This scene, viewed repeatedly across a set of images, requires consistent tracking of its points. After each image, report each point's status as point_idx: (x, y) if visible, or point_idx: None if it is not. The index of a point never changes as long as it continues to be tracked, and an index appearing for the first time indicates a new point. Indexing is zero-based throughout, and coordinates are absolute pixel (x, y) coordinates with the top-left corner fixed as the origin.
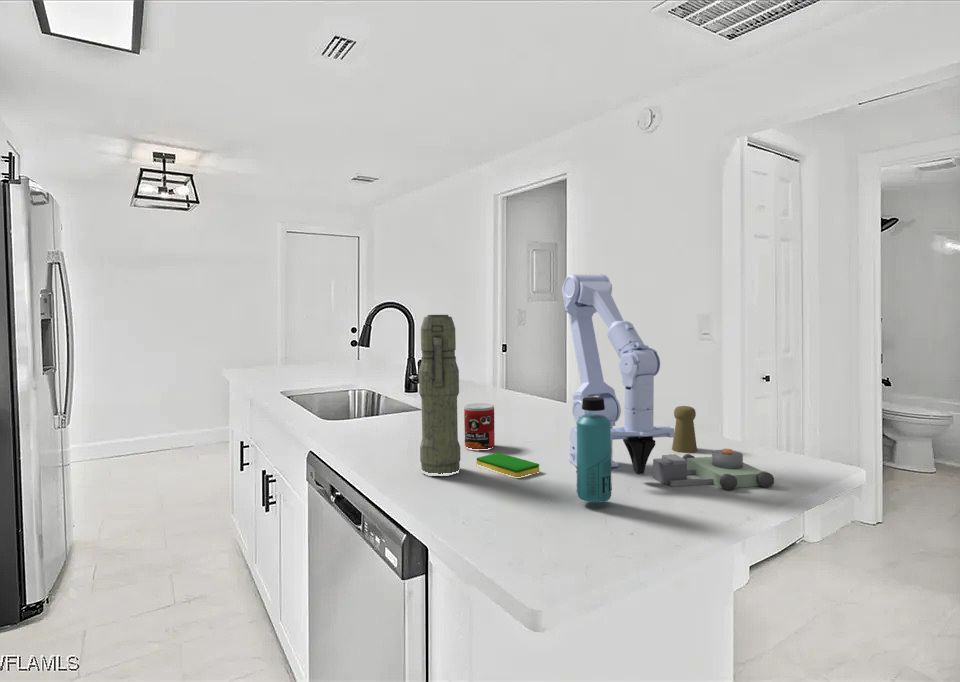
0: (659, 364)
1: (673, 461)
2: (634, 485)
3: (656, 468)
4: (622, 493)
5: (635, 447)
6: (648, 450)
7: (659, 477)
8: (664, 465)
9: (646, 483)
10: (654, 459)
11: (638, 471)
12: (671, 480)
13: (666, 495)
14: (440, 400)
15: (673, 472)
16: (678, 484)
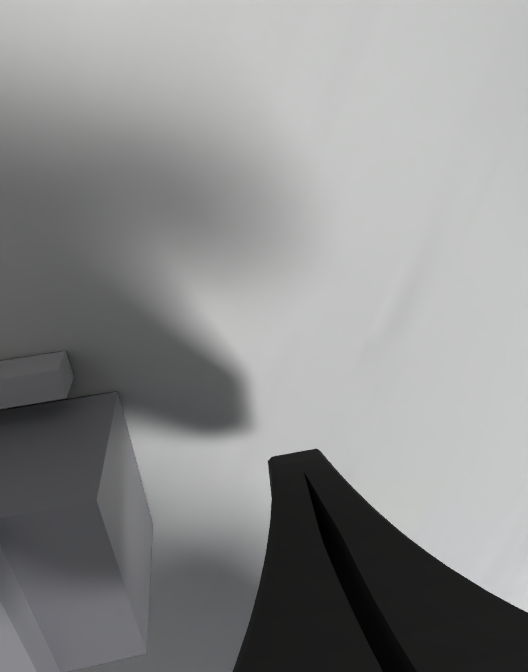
0: None
1: None
2: (331, 380)
3: (138, 551)
4: (485, 215)
5: (520, 628)
6: (293, 633)
7: (130, 471)
8: (92, 498)
9: (235, 418)
10: (140, 641)
11: (323, 459)
12: (53, 397)
13: (172, 131)
14: None
15: (11, 464)
16: (2, 365)
